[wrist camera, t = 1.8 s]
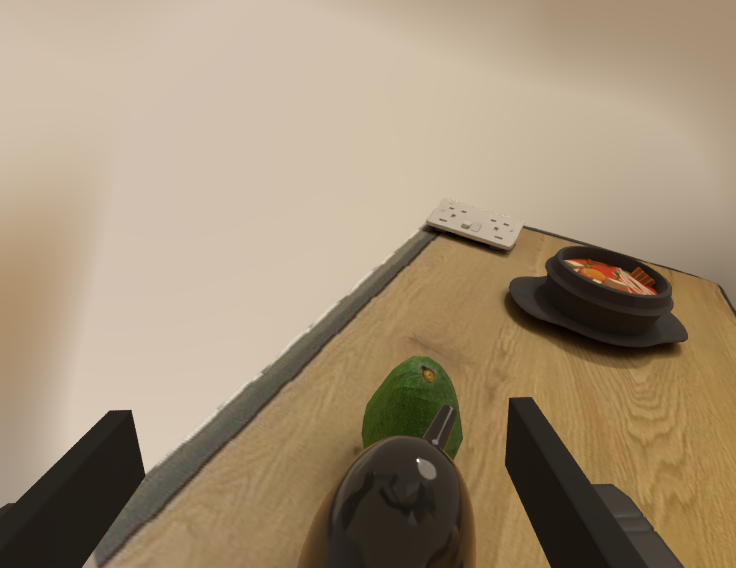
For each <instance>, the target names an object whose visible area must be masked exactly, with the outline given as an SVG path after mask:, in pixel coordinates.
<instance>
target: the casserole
mask: <svg viewBox="0 0 736 568" xmlns="http://www.w3.org/2000/svg"><path fill="white" fill-rule="evenodd" d="M545 268H546V270H547V276H543V277H518V278H515V279H513V280H512V281H511V282H510V286H509V289H510V294H511V295H512V297H513V299H514V300H515V302H516V303H517V304H518V305H519V306H520V307H521V308H522V309H523V310H525V311H526V312H527V313H528V314H530V315H532V316H534V317H536V318H538V319H540V320H543V321H546V322H549V323H553V324H556V325H560V326H563V327H565V328H568V329H570V330H572V331H575V332H577V333H579V334H582V335H584V336H587V337H589V338H592V339H595V340H598V341H602V342H605V343H609V344H614V345H618V346H627V347H648V346H652V345H656V344H661V343H671V342H684V341H686V340H687V339H688V334H687V332H686V329H685V328H684V326H683V325H682V324H681V322H680V321H679V320H678V319H677V318H676V317H675V316H674V315H673V314H672V313H671V310H672V309H673V304H674V303H673V301H672V298H671V295H672V286H671V284H670V283H669V282H668V280H667V279H666V278H665V277H663V276H662V275H661V274H660V273H658V272H657V271H655V270H654V269H652V268H650V267H649V266H647V265H645V264H643V263H641V262H639V261H636V260H634V259H632V258H629V257H626V256H624V255H621V254H618V253H615V252H611V251H607V250H603V249H599V248H593V247H586V246H569V247H565V248H562V249H560V250H559V251H558V252H557V254H556V255H555V256H553V257H551V258H550V259H548V260H547V262H546V264H545Z"/></svg>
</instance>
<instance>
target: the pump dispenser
mask: <svg viewBox="0 0 736 568" xmlns="http://www.w3.org/2000/svg"><path fill="white" fill-rule="evenodd" d="M457 416H458V412H457V410H456V409H455V408H454V407H453V406H451V405H449V404H443V405H442V406H441V407H440V408H439V410H438V412H437V413H436V415H435V417H434V418H433V420H432V421H431V423H430V425H429V426H428V428H427V430H426V431H425V433H424V435H423V436H422V437H420V436H416V435H410V434H397V435H392V436H389V437H386V438H383V439H381V440H379V441H377V442H375V443H373V444H372V445H370V446H369V447H367V448H366V449H364V450H363V451H362V452H361V453H359V454H358V455H357V456H356V457H355V458H354V459H353V460H352V461H351V462H350V463H349V464H348V465H347V467H346V468H345V469H344V470H343V472H342V473H341V474H340V476H339V477H338V478H337V480H336V481H335V483H334V484H333V486H332V487H331V489H330V490H329V492H328V493H327V495H326V497H325V498H324V500H323V502H322V503H321V505H320V507H319V509H318V511H317V513H316V515H315V517H314V519H313V521H312V524H311V526H310V528H309V531H308V534H307V536H306V539H305V542H304V545H303V548H302V551H301V555H300V559H299V564H298V568H476V532H475V521H474V514H473V508H472V503H471V499H470V495H469V492H468V489H467V486H466V483H465V481H464V478H463V476H462V474H461V472H460V471H459V469H458V467H457V466H456V464H455V463H454V461H453V460H452V459H451V458H450V457H449V455H448V454H447V453H446V452H445V448H446V445H447V443H448V440H449V437H450V435H451V432H452V429H453V427H454V424H455V421H456V419H457Z"/></svg>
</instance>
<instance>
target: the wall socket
mask: <svg viewBox="0 0 736 568" xmlns="http://www.w3.org/2000/svg"><path fill="white" fill-rule="evenodd" d="M426 223H427V224H428V225H430V226H433V227H436V229H435V230H437V231H440V232H444V233H446V231H449V232H452V233H455V234H457V235H459V236H462V237H465V238H468V239H471V240H474V241H477V242H483V243H486V244H490V245H489V247H490V248H493V249H496V250H499V251H500V250H501V248H502V249H505V250H509V249H512V247H513V245H514V243H515V241H516V239H517V237H518V235H519V233H520V231H521V229H522V227H523V225H524V222H523V221H521V220H518V219H515V218H512V217H508V216H505V215H501V214H498V213H495V212H491V211H488V210H484V209H481V208H477V207H474V206H471V205H467V204H464V203H460V202H457V201H453V200H450V199H443V200H442V201H441V202H440V204H439V205H438V206H437V207H436V208H435V210H434V211H433V212H432V213H431V214H430V216H429V217H428V218H427V221H426ZM453 235H454V234H453Z"/></svg>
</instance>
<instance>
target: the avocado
mask: <svg viewBox="0 0 736 568" xmlns="http://www.w3.org/2000/svg"><path fill="white" fill-rule="evenodd" d="M443 404H449V405H451V406H453V407H454V408H455V409H456V410H457V412H458V416H457V419H456V421H455V424H454V427H453V429H452V432H451V435H450V437H449V440H448V443H447V445H446V448H445V452H446V453H447V454H448V455H449V457H450V458H451V459H452V460H454V458H455V456H456V454H457V451H458V449H459V446H460V444H461V442H462V439H463V437H462V427H461V419H460V412H459V405H458V401H457V397H456V393H455V389H454V387H453V384H452V382H451V380H450V378H449V376H448V375H447V373H446V372H445V371H444V369H443V368H442V367H441V365H440V364H438V363H437V362H435V361H434V360H432V359H431V358H429V357H420V356H413V357H411V358H409V359H408V360H406V361H404V362H402V363H401V364H400V365H398V366H397V367H396V368H395V369H393V370H392V372H391V373H390V374H389V375H388V376H387V378H386V379H385V380H384V382H383V383H382V384H381V386H380V387H379V388H378V390H377V391H376V392H375V394H374V395H373V396H372V398H371V399H370V401H369V402H368V404H367V407H366V411H365V415H364V419H363V427H362V439H363V445H364V449H366V448H367V447H369V446H370V445H372V444H373V443H375V442H377V441H379V440H381V439H383V438H386V437H389V436H392V435H397V434H410V435H416V436H420V437H422V436H423V435H424V433H425V431H426V430H427V428H428V426H429V425H430V423H431V421H432V420H433V418H434V417H435V415H436V413H437V412H438V410H439V408H440V407H441V406H442V405H443Z"/></svg>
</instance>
